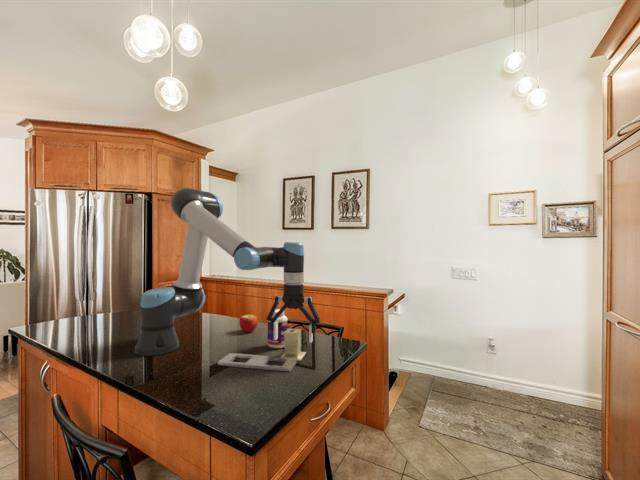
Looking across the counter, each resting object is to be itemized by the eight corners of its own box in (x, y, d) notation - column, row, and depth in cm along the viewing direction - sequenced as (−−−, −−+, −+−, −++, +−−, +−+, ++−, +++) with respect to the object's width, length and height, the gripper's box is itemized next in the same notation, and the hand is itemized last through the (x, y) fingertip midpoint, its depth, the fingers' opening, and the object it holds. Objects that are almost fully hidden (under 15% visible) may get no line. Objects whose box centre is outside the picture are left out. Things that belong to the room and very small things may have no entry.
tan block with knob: (288, 352, 117) (288, 328, 117) (301, 353, 116) (301, 329, 116) (284, 356, 112) (284, 332, 112) (297, 358, 111) (297, 333, 111)
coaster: (279, 359, 111) (279, 358, 111) (285, 351, 119) (285, 350, 119) (300, 360, 110) (300, 359, 110) (305, 353, 117) (305, 351, 117)
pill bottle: (283, 350, 120) (284, 313, 121) (264, 348, 122) (264, 312, 122) (289, 343, 128) (290, 309, 129) (271, 342, 130) (272, 308, 130)
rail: (217, 365, 105) (217, 362, 105) (230, 355, 114) (230, 352, 114) (290, 371, 100) (290, 368, 100) (297, 361, 109) (297, 358, 109)
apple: (261, 330, 147) (261, 309, 147) (248, 335, 139) (248, 313, 139) (248, 328, 151) (249, 307, 151) (235, 332, 144) (235, 310, 144)
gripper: (258, 283, 113) (257, 341, 113) (324, 286, 108) (324, 346, 108) (265, 281, 120) (265, 335, 120) (328, 283, 116) (327, 339, 116)
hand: (293, 340), depth 114 cm, fingers open, 13 cm apart
